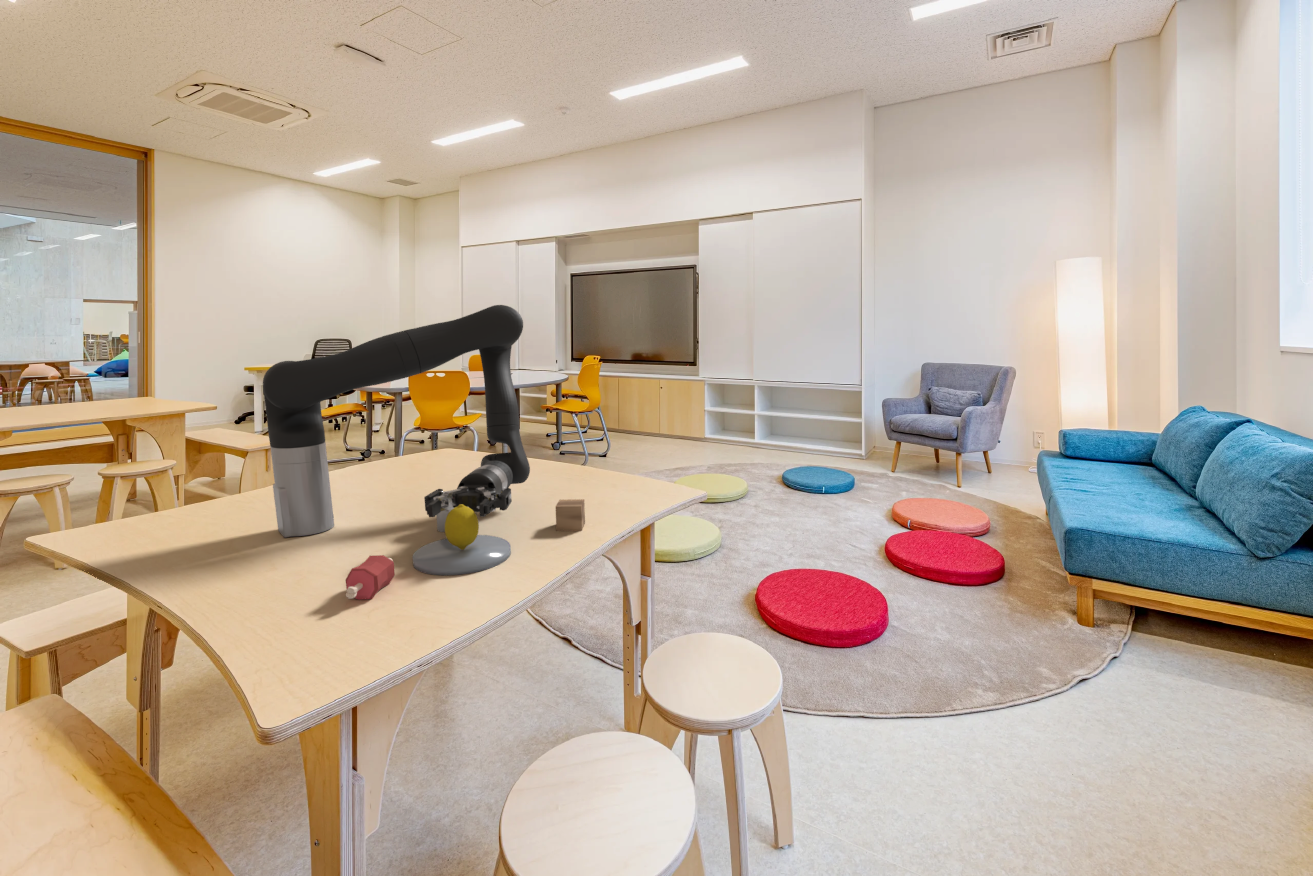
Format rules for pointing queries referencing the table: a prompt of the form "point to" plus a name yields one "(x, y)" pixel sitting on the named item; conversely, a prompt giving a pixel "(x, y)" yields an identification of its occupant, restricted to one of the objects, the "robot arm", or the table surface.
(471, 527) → the lemon
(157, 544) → the table surface
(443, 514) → the grey cylinder
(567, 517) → the walnut block
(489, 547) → the slate dish
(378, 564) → the meat
